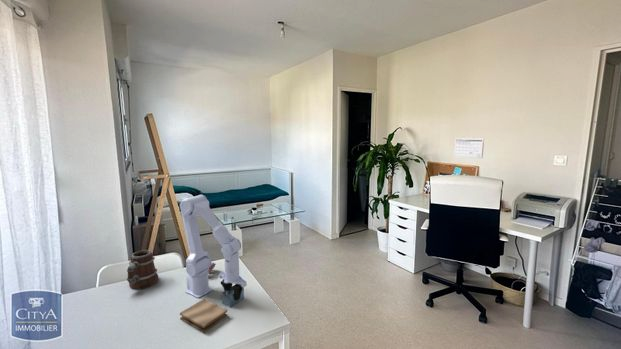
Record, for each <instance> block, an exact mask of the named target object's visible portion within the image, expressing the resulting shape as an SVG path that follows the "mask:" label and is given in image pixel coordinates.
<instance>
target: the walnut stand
mask: <svg viewBox="0 0 621 349" xmlns="http://www.w3.org/2000/svg"><path fill="white" fill-rule="evenodd" d="M227 313H228V309H227V308H224V307H222V306H220V305H218V304H216V303H213V302H212V301H210V300H208V299H205V298H203V299H201V300H200V301H198V302H196V303H195V304H193V305H191V306H189V307H188V308H186V309H184V310H183V311H181V312H180V313H179V315H180V316H181V317H180V318H179V320H181V322H184V323H185V324H187V325H188V326H191V327H192V328H194V329H196V330H197V331H199V332H201V333H203V334H205V333H207V332H208V331H210V330H211V329H212V328H214V327H215V326H216V325H218V324H219V323H221V322H222V321H224V320H225V319H226V318H228V315H229V314H227Z"/></svg>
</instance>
